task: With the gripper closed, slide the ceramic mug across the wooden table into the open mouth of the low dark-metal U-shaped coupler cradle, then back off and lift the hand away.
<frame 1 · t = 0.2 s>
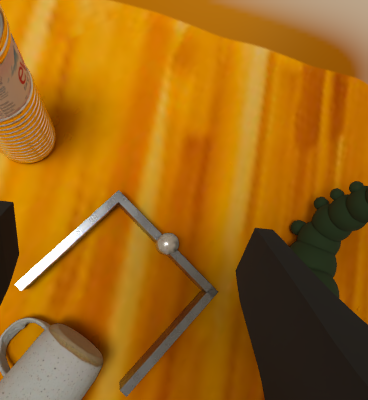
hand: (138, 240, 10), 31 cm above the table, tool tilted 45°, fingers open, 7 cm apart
water bottle: (28, 139, 40), on the table
ceramic mug: (47, 358, 37), on the table
coupler cradle: (115, 292, 39), on the table
toy figurine: (288, 289, 44), on the table
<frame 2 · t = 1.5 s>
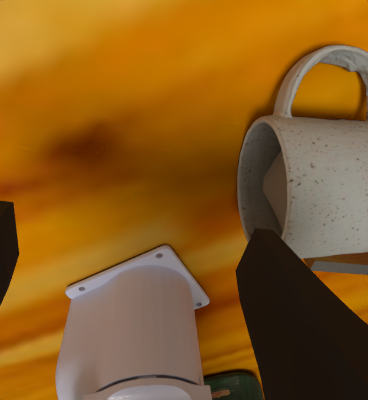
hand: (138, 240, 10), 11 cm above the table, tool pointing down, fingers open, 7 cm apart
ceramic mug: (298, 135, 21), on the table
coffee jar: (218, 384, 39), on the table
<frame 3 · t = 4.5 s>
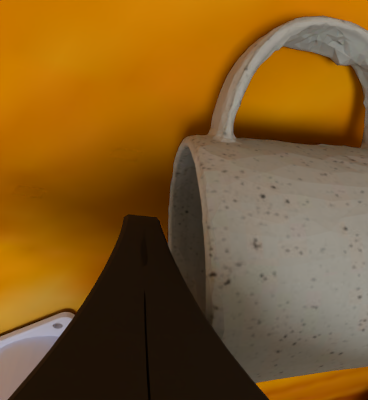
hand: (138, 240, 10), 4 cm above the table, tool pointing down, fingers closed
ceramic mug: (260, 160, 14), on the table, touching gripper
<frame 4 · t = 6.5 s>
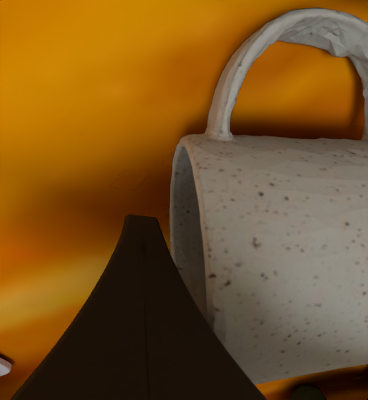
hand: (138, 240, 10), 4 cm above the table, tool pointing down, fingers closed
ceramic mug: (260, 157, 14), on the table, touching gripper
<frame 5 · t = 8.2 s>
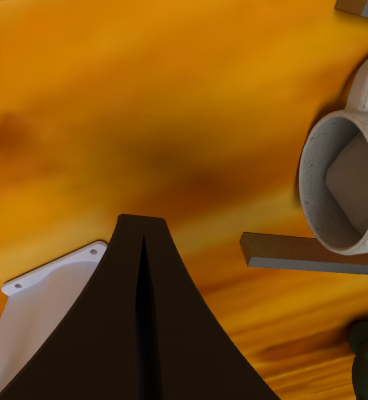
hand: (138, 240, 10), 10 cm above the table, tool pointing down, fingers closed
ceramic mug: (362, 128, 21), on the table
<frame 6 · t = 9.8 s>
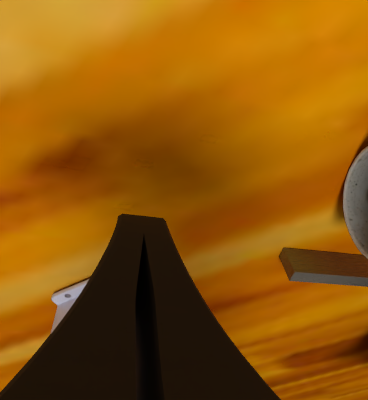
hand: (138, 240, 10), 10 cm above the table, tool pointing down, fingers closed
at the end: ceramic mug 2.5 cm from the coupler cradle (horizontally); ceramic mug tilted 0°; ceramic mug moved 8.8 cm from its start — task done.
